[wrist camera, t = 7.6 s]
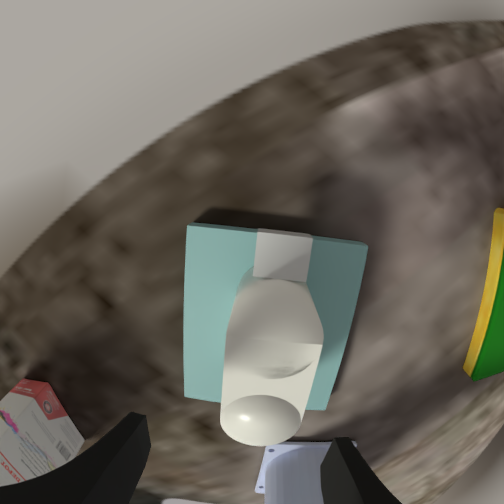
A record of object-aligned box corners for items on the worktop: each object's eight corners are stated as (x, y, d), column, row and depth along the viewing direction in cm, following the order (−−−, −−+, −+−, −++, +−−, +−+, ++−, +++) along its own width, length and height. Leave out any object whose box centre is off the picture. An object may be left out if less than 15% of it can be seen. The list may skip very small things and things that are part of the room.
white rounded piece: (288, 392, 18) (292, 447, 13) (228, 387, 18) (218, 441, 13) (318, 228, 16) (342, 251, 11) (243, 220, 16) (234, 238, 11)
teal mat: (322, 399, 20) (325, 410, 18) (188, 386, 20) (184, 396, 19) (361, 241, 17) (368, 246, 16) (192, 222, 17) (187, 225, 16)
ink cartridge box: (21, 376, 22) (-56, 457, 7) (49, 381, 21) (-33, 478, 7) (57, 434, 24) (2, 516, 9) (87, 441, 23) (33, 536, 9)
